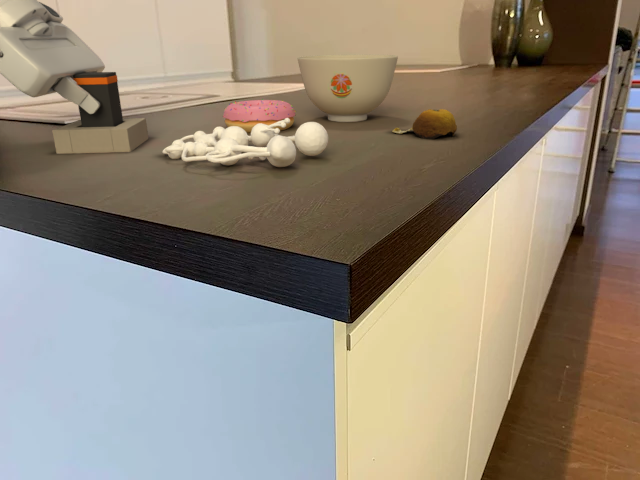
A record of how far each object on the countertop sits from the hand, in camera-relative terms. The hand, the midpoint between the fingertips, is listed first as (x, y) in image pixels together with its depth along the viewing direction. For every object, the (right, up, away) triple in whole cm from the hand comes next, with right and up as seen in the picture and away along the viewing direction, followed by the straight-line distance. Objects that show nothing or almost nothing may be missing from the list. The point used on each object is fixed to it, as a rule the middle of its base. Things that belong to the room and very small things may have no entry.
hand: (105, 106), depth 69 cm
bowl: (+32, +3, +21) cm, 38 cm away
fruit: (+43, -2, +7) cm, 44 cm away
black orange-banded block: (-1, -5, +2) cm, 5 cm away
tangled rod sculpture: (+18, -8, -8) cm, 22 cm away
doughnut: (+18, 0, +13) cm, 23 cm away
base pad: (-1, -5, +2) cm, 5 cm away
